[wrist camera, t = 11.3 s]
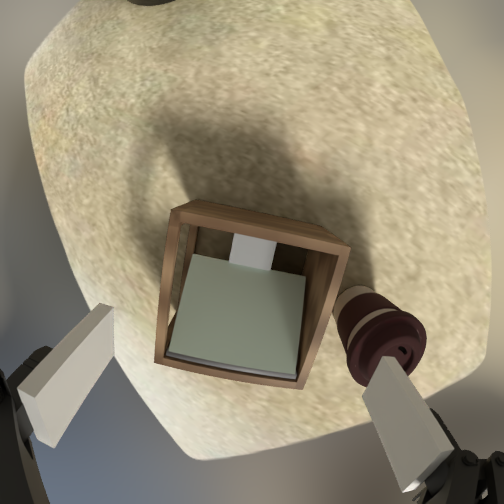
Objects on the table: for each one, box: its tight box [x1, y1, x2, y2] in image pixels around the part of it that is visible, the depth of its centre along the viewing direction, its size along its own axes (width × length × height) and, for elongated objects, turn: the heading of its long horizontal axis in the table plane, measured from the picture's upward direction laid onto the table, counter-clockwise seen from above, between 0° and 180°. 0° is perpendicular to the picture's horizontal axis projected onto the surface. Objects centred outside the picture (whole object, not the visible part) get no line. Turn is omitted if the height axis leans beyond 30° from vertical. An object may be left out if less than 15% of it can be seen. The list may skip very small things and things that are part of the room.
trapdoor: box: [166, 254, 306, 379], centre depth 33 cm, size 12×14×1 cm
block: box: [229, 233, 277, 271], centre depth 37 cm, size 5×5×5 cm
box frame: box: [154, 199, 351, 390], centre depth 34 cm, size 17×17×12 cm
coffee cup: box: [333, 286, 427, 387], centre depth 35 cm, size 10×10×15 cm
